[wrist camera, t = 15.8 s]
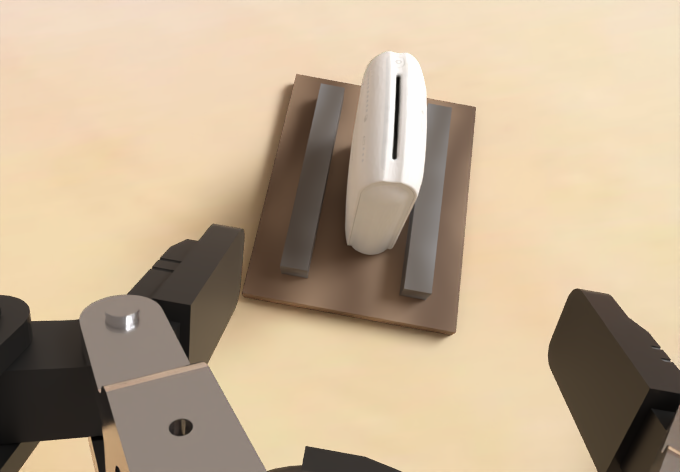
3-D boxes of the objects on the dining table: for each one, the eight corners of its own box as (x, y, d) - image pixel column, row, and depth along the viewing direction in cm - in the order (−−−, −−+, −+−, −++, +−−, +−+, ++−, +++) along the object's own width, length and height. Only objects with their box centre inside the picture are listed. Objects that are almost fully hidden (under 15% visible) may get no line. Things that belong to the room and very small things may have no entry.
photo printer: (349, 137, 42) (366, 30, 31) (400, 143, 42) (435, 37, 31) (339, 253, 39) (354, 181, 27) (395, 258, 39) (433, 189, 27)
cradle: (471, 115, 45) (483, 93, 42) (451, 335, 38) (463, 327, 35) (296, 82, 45) (296, 58, 42) (244, 296, 38) (238, 286, 35)
